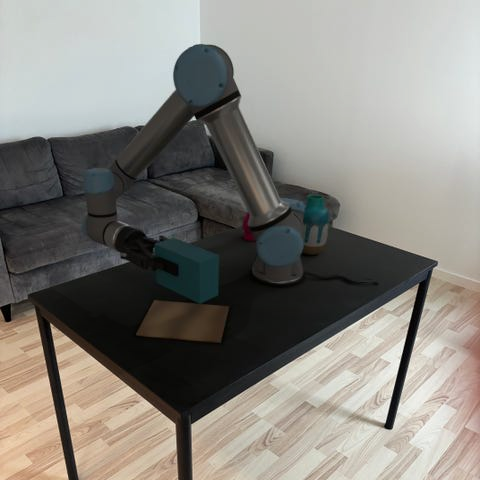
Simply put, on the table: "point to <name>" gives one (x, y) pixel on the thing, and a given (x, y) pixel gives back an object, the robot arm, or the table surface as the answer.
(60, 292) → the table surface
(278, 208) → the robot arm
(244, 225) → the pepper mill
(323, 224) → the vase
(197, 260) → the teal box
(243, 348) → the table surface
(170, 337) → the cork mat
